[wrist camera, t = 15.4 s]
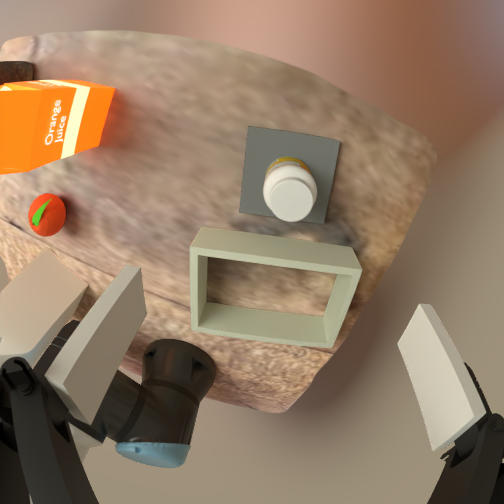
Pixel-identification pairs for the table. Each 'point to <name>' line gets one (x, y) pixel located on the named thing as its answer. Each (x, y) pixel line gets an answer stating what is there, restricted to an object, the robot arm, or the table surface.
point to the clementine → (47, 214)
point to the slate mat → (279, 145)
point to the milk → (37, 306)
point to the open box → (278, 254)
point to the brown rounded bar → (15, 72)
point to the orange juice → (49, 121)
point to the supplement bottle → (289, 189)
